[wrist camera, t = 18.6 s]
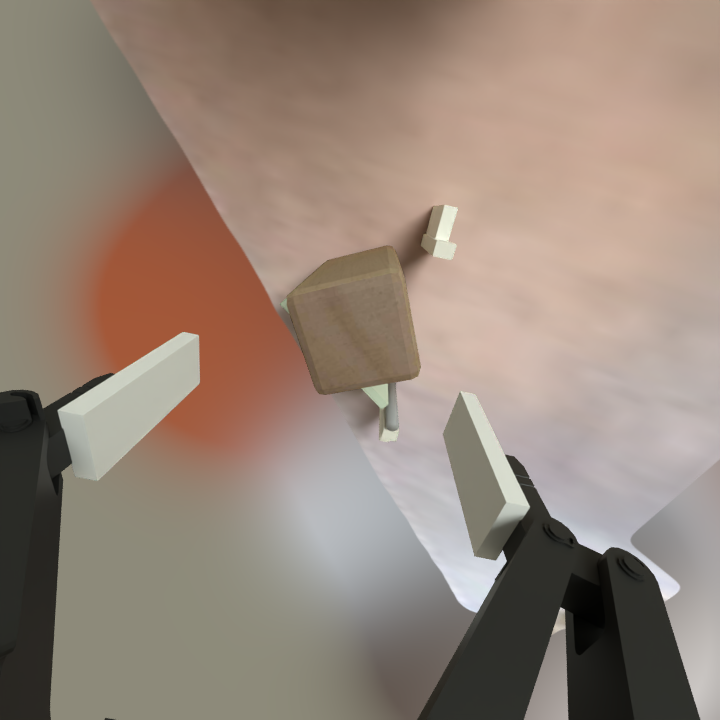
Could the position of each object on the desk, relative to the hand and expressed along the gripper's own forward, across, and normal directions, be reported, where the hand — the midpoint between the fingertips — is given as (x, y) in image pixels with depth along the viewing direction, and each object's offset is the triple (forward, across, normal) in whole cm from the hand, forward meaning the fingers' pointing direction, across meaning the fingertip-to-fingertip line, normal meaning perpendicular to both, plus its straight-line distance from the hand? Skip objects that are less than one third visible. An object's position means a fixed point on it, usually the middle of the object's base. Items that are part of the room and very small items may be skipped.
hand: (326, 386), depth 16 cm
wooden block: (+31, +1, -2) cm, 31 cm away
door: (+31, -1, -10) cm, 32 cm away
